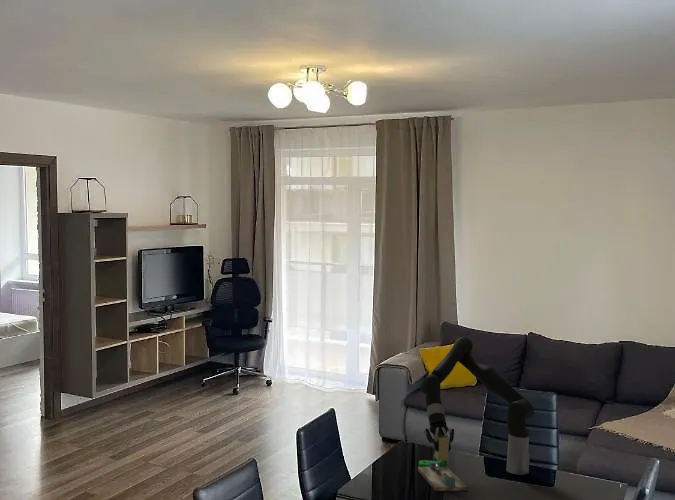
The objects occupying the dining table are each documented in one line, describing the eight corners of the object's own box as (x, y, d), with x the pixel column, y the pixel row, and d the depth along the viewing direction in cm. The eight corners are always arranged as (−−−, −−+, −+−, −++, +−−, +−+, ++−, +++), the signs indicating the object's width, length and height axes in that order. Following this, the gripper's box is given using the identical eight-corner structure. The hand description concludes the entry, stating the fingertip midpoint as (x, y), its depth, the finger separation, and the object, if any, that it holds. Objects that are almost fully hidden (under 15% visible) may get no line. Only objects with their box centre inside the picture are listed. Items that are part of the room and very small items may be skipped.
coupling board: (446, 469, 311) (447, 460, 311) (466, 490, 287) (467, 479, 287) (417, 470, 309) (418, 460, 309) (435, 490, 284) (436, 480, 284)
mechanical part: (444, 466, 317) (445, 449, 317) (444, 470, 311) (446, 453, 311) (418, 463, 318) (419, 447, 318) (418, 468, 312) (419, 451, 312)
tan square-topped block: (444, 456, 301) (445, 434, 301) (447, 460, 297) (449, 437, 296) (434, 456, 300) (436, 434, 300) (438, 460, 296) (439, 437, 295)
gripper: (448, 420, 312) (456, 455, 300) (419, 419, 309) (425, 454, 298) (453, 412, 306) (461, 447, 295) (423, 411, 304) (429, 447, 292)
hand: (443, 450), depth 296 cm, fingers closed on tan square-topped block, 4 cm apart
